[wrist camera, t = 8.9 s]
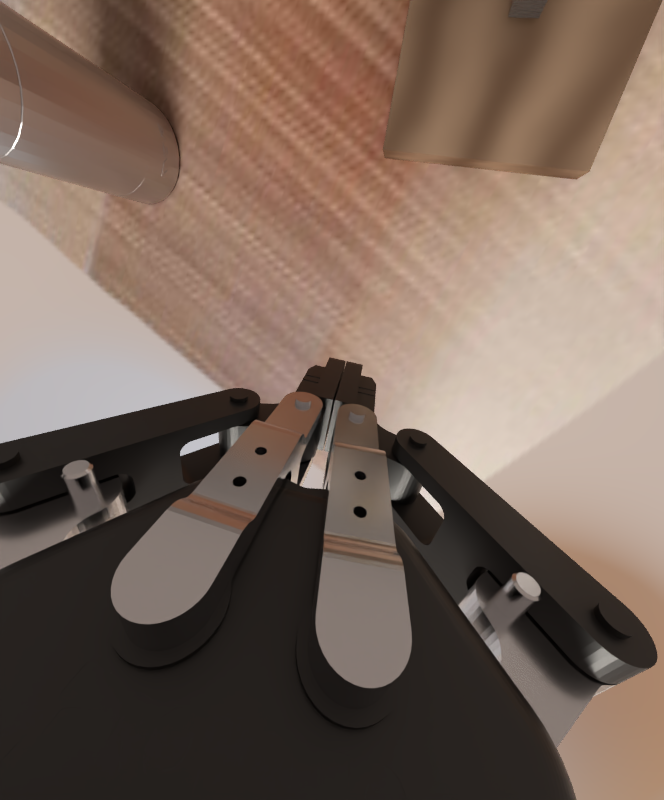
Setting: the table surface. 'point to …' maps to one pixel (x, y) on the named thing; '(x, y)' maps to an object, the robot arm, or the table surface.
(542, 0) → the gold knob lever
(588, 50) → the board
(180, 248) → the table surface
